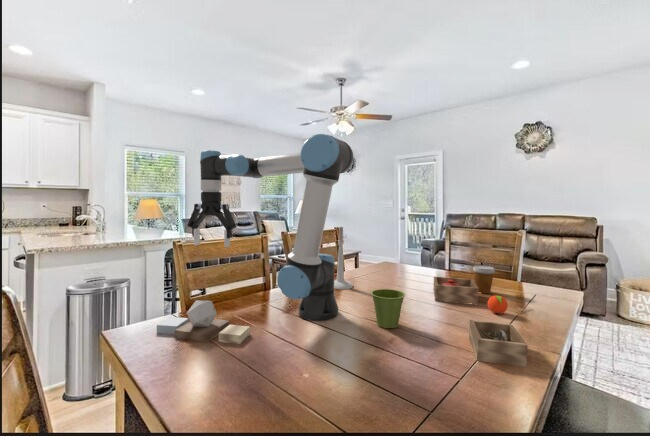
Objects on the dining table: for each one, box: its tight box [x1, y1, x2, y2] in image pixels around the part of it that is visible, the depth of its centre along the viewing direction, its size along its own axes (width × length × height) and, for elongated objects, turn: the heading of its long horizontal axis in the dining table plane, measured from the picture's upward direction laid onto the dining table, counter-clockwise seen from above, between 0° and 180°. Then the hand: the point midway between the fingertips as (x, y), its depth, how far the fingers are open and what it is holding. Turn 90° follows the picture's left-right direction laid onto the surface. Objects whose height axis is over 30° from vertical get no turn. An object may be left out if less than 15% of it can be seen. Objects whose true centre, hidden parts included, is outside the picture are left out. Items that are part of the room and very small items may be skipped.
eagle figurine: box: [481, 330, 507, 341], centre depth 95 cm, size 8×8×10 cm
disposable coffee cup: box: [472, 264, 496, 294], centre depth 156 cm, size 10×10×12 cm
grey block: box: [156, 316, 190, 335], centre depth 110 cm, size 7×7×3 cm
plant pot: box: [370, 288, 406, 329], centre depth 115 cm, size 12×12×11 cm
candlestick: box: [334, 226, 354, 291], centre depth 164 cm, size 13×13×30 cm
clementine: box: [487, 295, 509, 314], centre depth 128 cm, size 8×7×7 cm
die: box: [186, 300, 218, 327], centre depth 107 cm, size 8×9×10 cm
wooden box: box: [433, 276, 479, 305], centre depth 148 cm, size 17×16×7 cm
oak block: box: [218, 324, 251, 345], centre depth 104 cm, size 7×7×3 cm
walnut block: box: [174, 318, 231, 343], centre depth 108 cm, size 12×12×3 cm
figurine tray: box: [468, 319, 528, 368], centre depth 96 cm, size 12×15×6 cm
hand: (211, 245), depth 129 cm, fingers open, 13 cm apart
